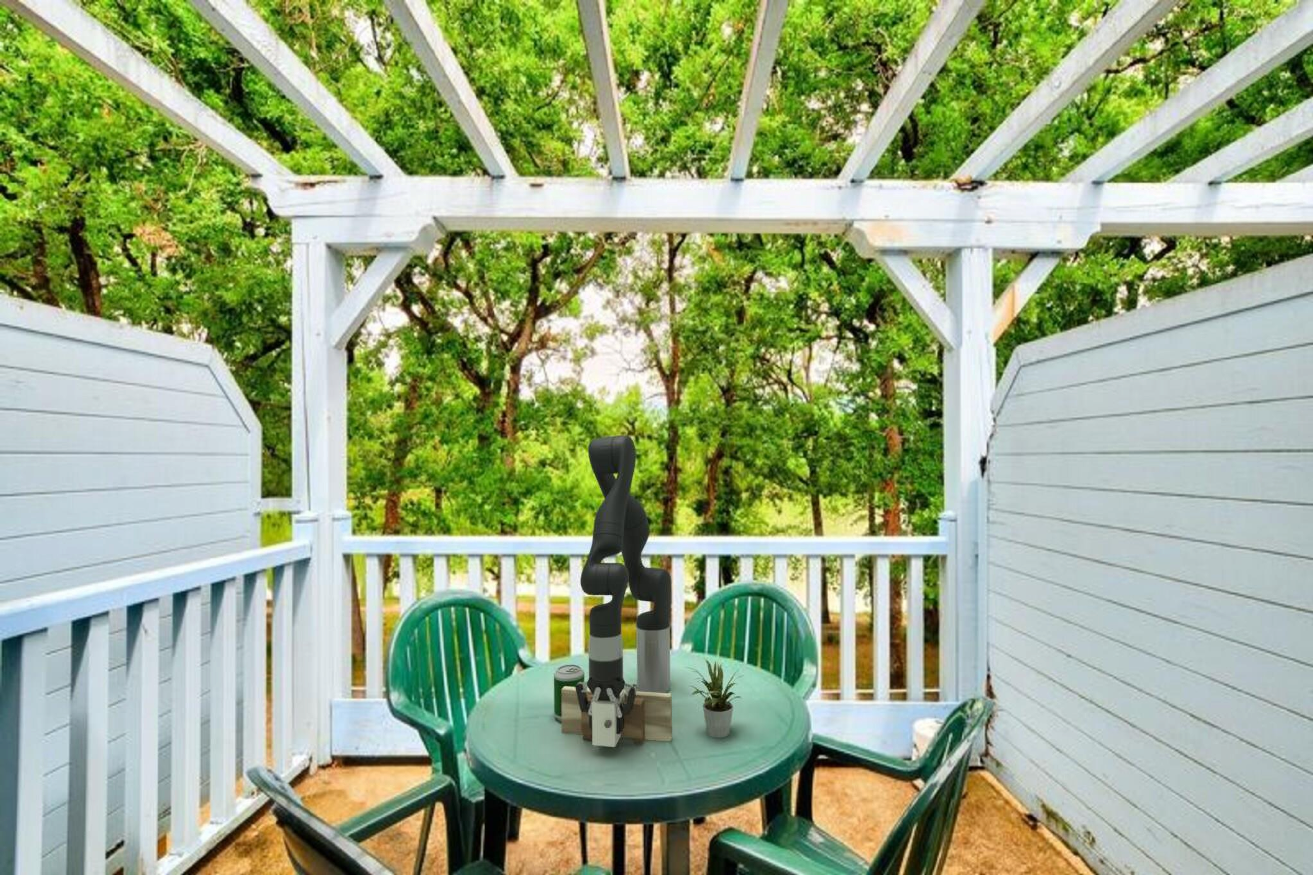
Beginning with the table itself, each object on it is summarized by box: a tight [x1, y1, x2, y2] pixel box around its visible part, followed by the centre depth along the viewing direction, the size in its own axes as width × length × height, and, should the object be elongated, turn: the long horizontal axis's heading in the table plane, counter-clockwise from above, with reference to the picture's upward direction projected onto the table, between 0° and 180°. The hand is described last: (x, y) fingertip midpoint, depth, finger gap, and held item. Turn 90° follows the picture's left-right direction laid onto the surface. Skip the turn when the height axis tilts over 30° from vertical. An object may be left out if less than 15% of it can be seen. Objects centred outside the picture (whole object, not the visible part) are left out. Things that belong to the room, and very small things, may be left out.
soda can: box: [553, 664, 585, 723], centre depth 148 cm, size 8×8×12 cm
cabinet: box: [591, 689, 624, 748], centre depth 132 cm, size 9×5×9 cm, turn 168°
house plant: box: [684, 657, 743, 739], centre depth 140 cm, size 14×14×16 cm
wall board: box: [561, 686, 673, 746], centre depth 137 cm, size 5×26×10 cm, turn 78°
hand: (606, 731), depth 131 cm, fingers closed on cabinet, 5 cm apart
